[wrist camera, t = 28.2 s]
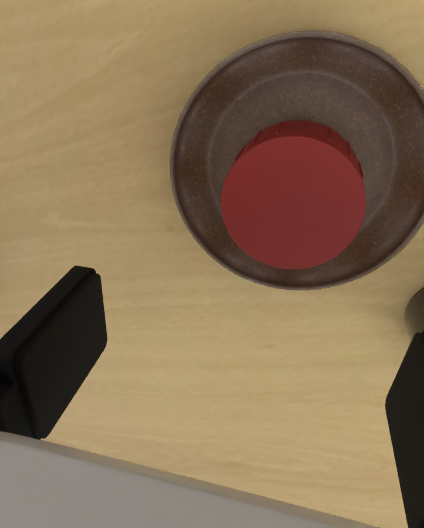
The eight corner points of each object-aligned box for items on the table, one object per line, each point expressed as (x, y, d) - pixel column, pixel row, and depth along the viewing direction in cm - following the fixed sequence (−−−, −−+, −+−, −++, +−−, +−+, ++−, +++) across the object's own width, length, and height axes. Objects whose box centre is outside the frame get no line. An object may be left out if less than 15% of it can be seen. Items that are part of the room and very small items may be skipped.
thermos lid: (284, 89, 19) (277, 100, 17) (391, 174, 20) (402, 199, 17) (210, 192, 23) (193, 216, 20) (302, 261, 24) (299, 293, 21)
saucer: (447, 244, 24) (459, 266, 22) (230, 287, 30) (222, 309, 28) (407, -27, 18) (419, -34, 16) (145, 93, 24) (127, 100, 22)
